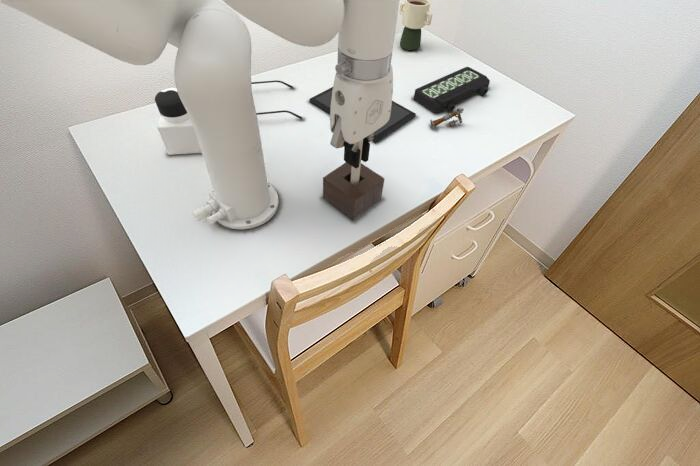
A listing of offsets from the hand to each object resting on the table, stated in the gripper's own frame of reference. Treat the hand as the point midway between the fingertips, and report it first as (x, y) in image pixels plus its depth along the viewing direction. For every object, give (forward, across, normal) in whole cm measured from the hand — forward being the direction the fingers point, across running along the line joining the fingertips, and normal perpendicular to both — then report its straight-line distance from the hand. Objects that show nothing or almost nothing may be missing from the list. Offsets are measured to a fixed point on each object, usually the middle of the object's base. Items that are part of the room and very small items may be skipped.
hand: (355, 160), depth 68 cm
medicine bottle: (+10, -14, +36) cm, 40 cm away
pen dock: (+10, 0, 0) cm, 10 cm away
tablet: (+10, +24, +19) cm, 32 cm away
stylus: (+8, 0, 0) cm, 8 cm away
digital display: (+10, +47, +7) cm, 49 cm away
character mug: (+10, +59, +31) cm, 67 cm away
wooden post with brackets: (+10, +34, +1) cm, 35 cm away
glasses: (+10, +7, +36) cm, 38 cm away
